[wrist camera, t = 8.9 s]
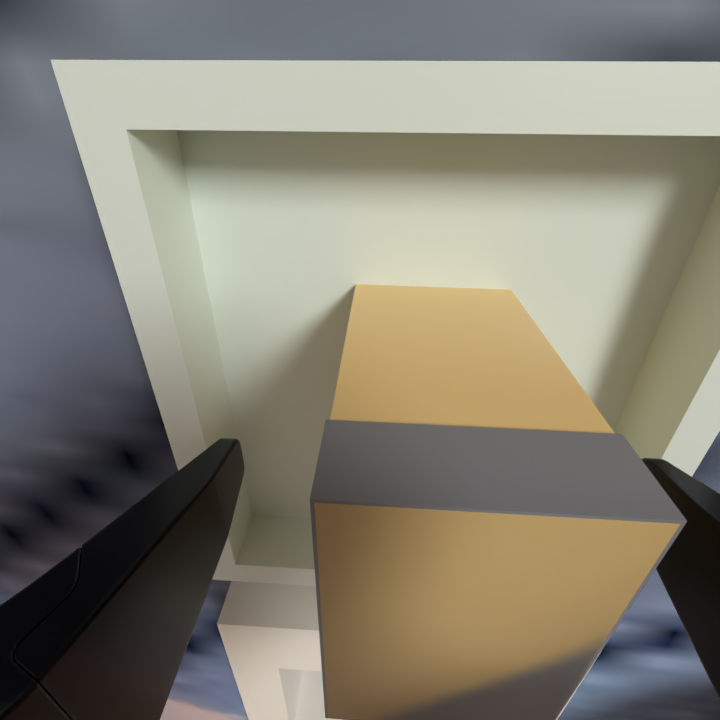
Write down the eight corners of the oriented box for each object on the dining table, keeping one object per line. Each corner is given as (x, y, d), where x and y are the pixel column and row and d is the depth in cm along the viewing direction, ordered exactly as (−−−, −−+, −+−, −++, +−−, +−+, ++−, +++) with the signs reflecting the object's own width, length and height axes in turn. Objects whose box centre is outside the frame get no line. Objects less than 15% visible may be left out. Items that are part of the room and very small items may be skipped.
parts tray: (798, 76, 8) (943, 62, 6) (583, 539, 16) (614, 605, 14) (132, 73, 9) (50, 59, 7) (234, 520, 17) (212, 579, 14)
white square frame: (569, 569, 17) (602, 650, 14) (505, 707, 24) (519, 777, 22) (241, 550, 18) (217, 623, 15) (274, 690, 25) (261, 756, 22)
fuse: (513, 287, 10) (687, 521, 4) (474, 461, 13) (545, 735, 7) (353, 282, 11) (309, 499, 5) (352, 454, 14) (325, 717, 8)
